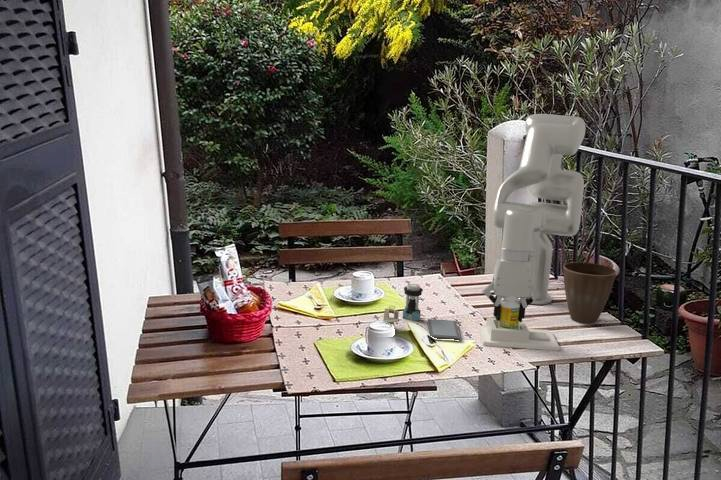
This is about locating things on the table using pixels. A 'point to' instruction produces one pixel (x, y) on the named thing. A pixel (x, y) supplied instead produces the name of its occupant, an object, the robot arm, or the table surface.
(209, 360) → the table surface
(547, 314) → the table surface
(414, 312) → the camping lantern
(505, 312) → the supplement bottle
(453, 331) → the phone
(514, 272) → the robot arm
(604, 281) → the plant pot
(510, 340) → the organizer tray
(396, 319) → the platform
